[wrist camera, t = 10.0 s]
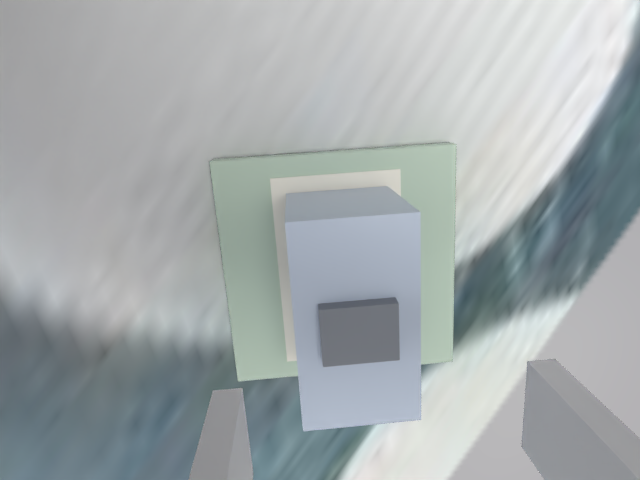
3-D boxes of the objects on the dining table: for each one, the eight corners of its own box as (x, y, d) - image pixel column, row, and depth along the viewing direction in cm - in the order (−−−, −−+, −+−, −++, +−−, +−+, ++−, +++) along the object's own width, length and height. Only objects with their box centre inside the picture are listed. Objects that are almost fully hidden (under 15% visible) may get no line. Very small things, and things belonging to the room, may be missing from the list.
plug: (286, 193, 22) (284, 226, 16) (387, 186, 23) (425, 215, 16) (300, 356, 25) (303, 441, 19) (391, 348, 25) (425, 429, 19)
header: (213, 159, 23) (192, 172, 18) (448, 142, 24) (490, 151, 19) (240, 369, 26) (228, 430, 21) (445, 350, 27) (481, 405, 22)
